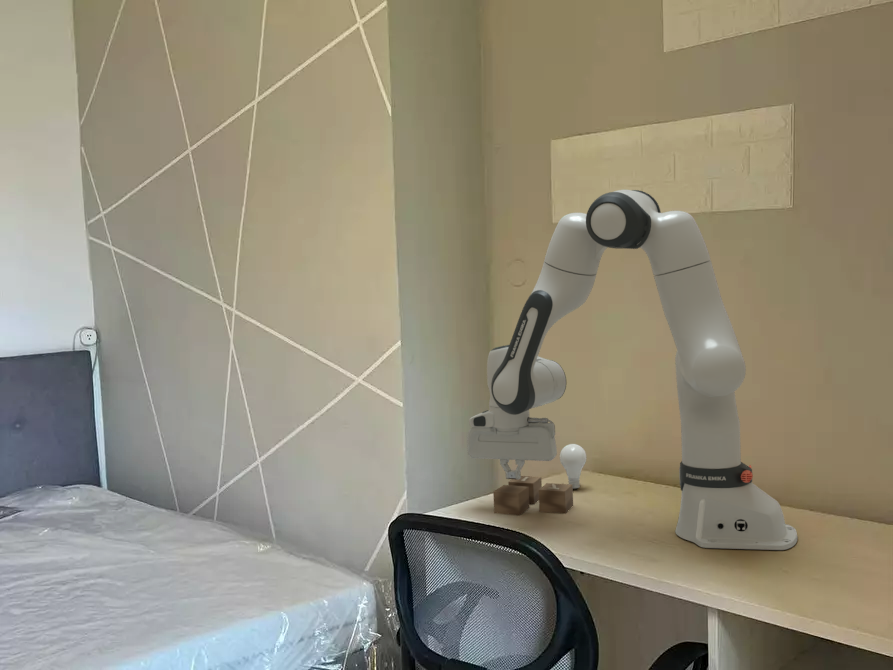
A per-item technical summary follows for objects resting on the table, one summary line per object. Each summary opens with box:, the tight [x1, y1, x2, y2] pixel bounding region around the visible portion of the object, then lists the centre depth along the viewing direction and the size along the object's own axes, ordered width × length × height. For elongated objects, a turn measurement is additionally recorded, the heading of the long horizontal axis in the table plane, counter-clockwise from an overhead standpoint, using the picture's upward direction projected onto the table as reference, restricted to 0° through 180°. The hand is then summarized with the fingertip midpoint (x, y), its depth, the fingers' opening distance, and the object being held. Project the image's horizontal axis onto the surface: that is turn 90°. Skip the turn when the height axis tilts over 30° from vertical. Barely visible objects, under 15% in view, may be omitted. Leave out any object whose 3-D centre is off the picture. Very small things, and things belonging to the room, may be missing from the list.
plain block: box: [492, 484, 530, 516], centre depth 197 cm, size 6×6×5 cm
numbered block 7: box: [538, 482, 574, 514], centre depth 196 cm, size 6×6×5 cm
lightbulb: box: [559, 443, 587, 490], centre depth 212 cm, size 6×6×11 cm
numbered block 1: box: [507, 475, 543, 505], centre depth 205 cm, size 6×6×5 cm
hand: (513, 478), depth 196 cm, fingers closed
